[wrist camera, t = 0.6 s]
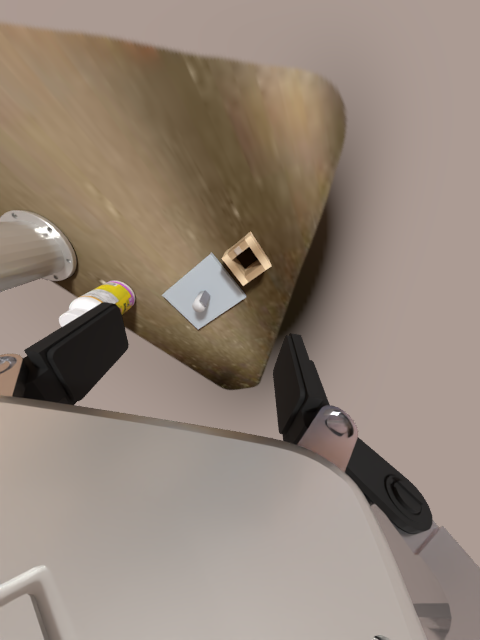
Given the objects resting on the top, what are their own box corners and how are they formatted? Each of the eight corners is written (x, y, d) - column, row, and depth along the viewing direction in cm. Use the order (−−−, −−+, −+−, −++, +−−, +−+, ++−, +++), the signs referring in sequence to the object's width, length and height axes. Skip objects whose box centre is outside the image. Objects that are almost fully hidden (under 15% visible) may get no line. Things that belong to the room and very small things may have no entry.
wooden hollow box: (268, 259, 35) (271, 266, 30) (243, 277, 37) (243, 286, 33) (250, 231, 33) (251, 235, 28) (224, 252, 35) (221, 259, 30)
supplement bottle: (127, 312, 43) (85, 348, 32) (100, 292, 40) (44, 324, 29) (142, 295, 40) (103, 328, 29) (114, 273, 38) (60, 299, 27)
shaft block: (199, 326, 44) (192, 342, 39) (164, 292, 40) (151, 305, 34) (245, 295, 39) (245, 308, 34) (211, 252, 35) (205, 260, 30)
